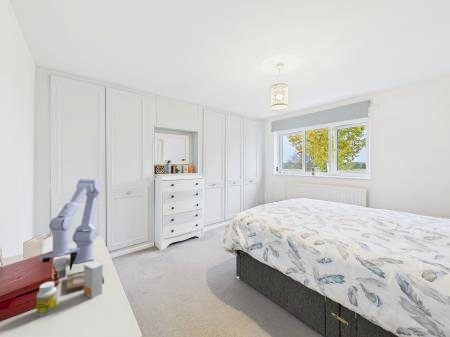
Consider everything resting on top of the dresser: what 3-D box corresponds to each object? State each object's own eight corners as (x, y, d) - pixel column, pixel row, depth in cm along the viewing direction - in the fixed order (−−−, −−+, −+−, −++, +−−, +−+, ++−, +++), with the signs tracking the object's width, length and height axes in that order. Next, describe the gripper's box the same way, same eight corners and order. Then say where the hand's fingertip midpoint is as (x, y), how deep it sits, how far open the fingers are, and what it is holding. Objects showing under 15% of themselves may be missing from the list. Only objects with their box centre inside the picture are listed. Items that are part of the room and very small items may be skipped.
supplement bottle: (59, 304, 75) (60, 279, 75) (50, 315, 70) (51, 288, 69) (42, 306, 74) (43, 280, 73) (32, 317, 68) (32, 289, 68)
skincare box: (83, 294, 81) (83, 264, 81) (94, 288, 85) (94, 260, 85) (91, 299, 78) (92, 268, 78) (102, 293, 82) (103, 264, 82)
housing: (54, 273, 95) (55, 259, 95) (65, 271, 98) (65, 257, 97) (54, 279, 90) (54, 264, 90) (65, 277, 93) (65, 262, 93)
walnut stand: (66, 279, 91) (66, 274, 91) (100, 270, 99) (100, 266, 99) (66, 294, 81) (66, 289, 81) (103, 283, 89) (103, 278, 89)
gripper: (38, 249, 86) (38, 280, 86) (80, 242, 95) (79, 270, 95) (40, 243, 92) (40, 273, 92) (79, 237, 101) (79, 264, 101)
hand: (60, 271), depth 94 cm, fingers open, 7 cm apart
